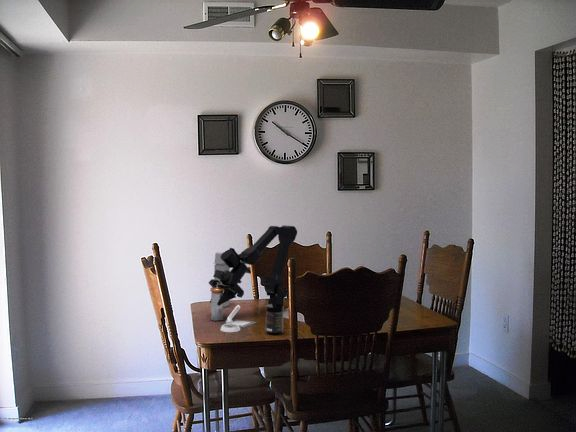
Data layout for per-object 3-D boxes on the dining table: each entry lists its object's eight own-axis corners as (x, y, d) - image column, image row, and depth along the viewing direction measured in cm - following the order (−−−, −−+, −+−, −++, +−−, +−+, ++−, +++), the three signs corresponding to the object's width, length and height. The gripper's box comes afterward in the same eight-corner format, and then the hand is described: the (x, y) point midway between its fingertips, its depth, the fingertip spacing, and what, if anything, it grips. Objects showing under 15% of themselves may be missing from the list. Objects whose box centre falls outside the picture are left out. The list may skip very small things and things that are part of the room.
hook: (252, 319, 201) (237, 309, 200) (233, 343, 203) (218, 333, 202) (251, 311, 209) (237, 301, 207) (233, 333, 210) (219, 324, 209)
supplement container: (286, 332, 204) (286, 305, 203) (277, 336, 198) (278, 308, 197) (271, 329, 207) (271, 303, 206) (262, 333, 201) (262, 306, 200)
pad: (235, 320, 222) (235, 319, 222) (256, 323, 217) (256, 321, 217) (222, 325, 213) (222, 324, 213) (243, 328, 208) (243, 327, 208)
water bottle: (231, 307, 247) (231, 253, 246) (214, 307, 245) (214, 253, 244) (228, 303, 256) (229, 251, 255) (212, 303, 254) (212, 251, 253)
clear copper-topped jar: (224, 317, 224) (224, 287, 223) (223, 320, 218) (223, 289, 218) (211, 317, 224) (211, 287, 223) (209, 320, 218) (209, 289, 218)
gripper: (212, 260, 230) (190, 288, 223) (238, 265, 216) (215, 295, 209) (227, 276, 235) (206, 304, 228) (253, 282, 222) (231, 312, 215)
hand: (214, 303), depth 220 cm, fingers closed on clear copper-topped jar, 5 cm apart
